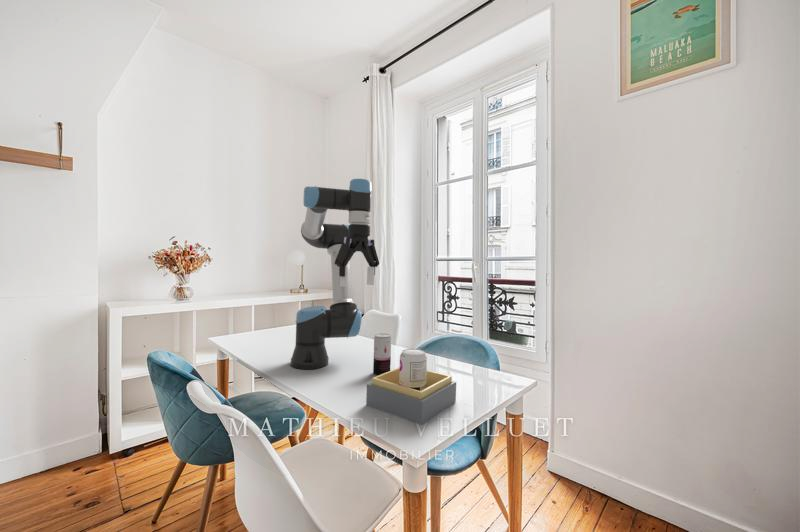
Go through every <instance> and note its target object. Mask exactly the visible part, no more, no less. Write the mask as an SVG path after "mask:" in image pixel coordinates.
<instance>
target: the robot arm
mask: <svg viewBox="0 0 800 532" xmlns="http://www.w3.org/2000/svg"><path fill="white" fill-rule="evenodd" d="M302 198H303V201H302V202H303V206H304V207H305V208H306V214H305V218H304V221H303V223H302V224H301V227H300V234H301V237H302V238H303V240H304V241H305V242H306V243H307V244H309V246H312V247H314V248H317V249H326V250H327V253H328V255H330V260H331V261H330V263H331V287H332V288H331V289H332V303H331V304H330V305H329V309H327V308H326V306H323V305H320V306H319V305H314V306H308V307H304V308H300V309H299V310H298V311H296V316H295V323H296V324H295V325H296V326H295V346H294V348H293V352H292V356H291V357H290V366H291V368H295V369H299V370H315V369H320V368H323V367H327V366H328V365H329V362H330V361H329V356H328V353H327V347H326V345H325V343H326V341H325V339H331V338H332V339H333V338H336V339H337V338H347V339H348V338H352V337H357V336H358V335H359V334H360V331H361V326H362V319H363V317H362V315H363V312H362V310H361V309H360V308H358V306H357V303H356V302H355V301H354V298H353V297H354V296H353V284H352V271H351V270H352V269H351V268H352V267H351V259H352V258H353V256H354V254H355V253H357V252H360V253H362V255H363V256H364V259H365V261H366V262H367V264H368V266H367V271H366V273H367V274H366V285H368V286H374V285H375V275H376V268H377V267H378V266H380V260H379V258H378V253H377V250H376V247H375V240H374V239H369V237H370V236H371V226H370V224H371V213H372V212H371V211H372V210H371V209H372V207H371V206H372V182H371V181H370V180H368V179H365V178H353V179H351V180H350V181H349V187H348V189H341V188H333V187H330V188H329V187H322V186H321V187H319V186H316V185H315V186H305V187H304V189H303V197H302ZM328 210H339V211H340V210H341V211H347V212H348V224H335V223H324V222H325V219H326V216H327V212H328Z"/></svg>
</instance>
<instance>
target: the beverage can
mask: <svg viewBox="0 0 800 532" xmlns="http://www.w3.org/2000/svg"><path fill="white" fill-rule="evenodd" d="M391 355H392V334H389V333H381V332H379V333H375V334H374V337H373V365H372V366H373V367H372V373H373V375H374V376H375V377H376V376H379V375H381V374H384V373H386V372H389V371H391V362H392V361H391V360H392V359H391V357H392V356H391Z"/></svg>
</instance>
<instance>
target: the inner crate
mask: <svg viewBox="0 0 800 532" xmlns="http://www.w3.org/2000/svg"><path fill="white" fill-rule="evenodd" d="M399 369H400V366H399V367H397V368H394V369H390V371H389V372H386V373H384V374H381V375H379V376H376V375H375V376H373V377H372V378H371V382H372V385H375V386H378V387H382V388H385V389H388V390H391V391H395V392H398V393H401V394H404V395H408V396H411V397H414V398H417V399H421V400H422V399H424V398H426V397H427V396H429V395H431V394H433V393H434V392H436V391H438V390H440V389H441V388H443V387H445V386H447V385H449V384H450V383H452V381H453V379H452V378H453V376H452V375H449V374H444V373H440V372H435V371H432V370H427V371H426V389H424V390H422V391H418V390H415V389H411V388H408V387H405V386H401V385H399Z"/></svg>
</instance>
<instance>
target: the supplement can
mask: <svg viewBox="0 0 800 532" xmlns="http://www.w3.org/2000/svg"><path fill="white" fill-rule="evenodd" d="M427 362H428V357H427V355H426V352H425V350H422V349H419V348H405V349H402V351H401V353H400V355H399V367H400V369H399V385H401V386H405V387H408V388H411V389H415V390H418V391H422V390H424V389H426V371H427Z"/></svg>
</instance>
